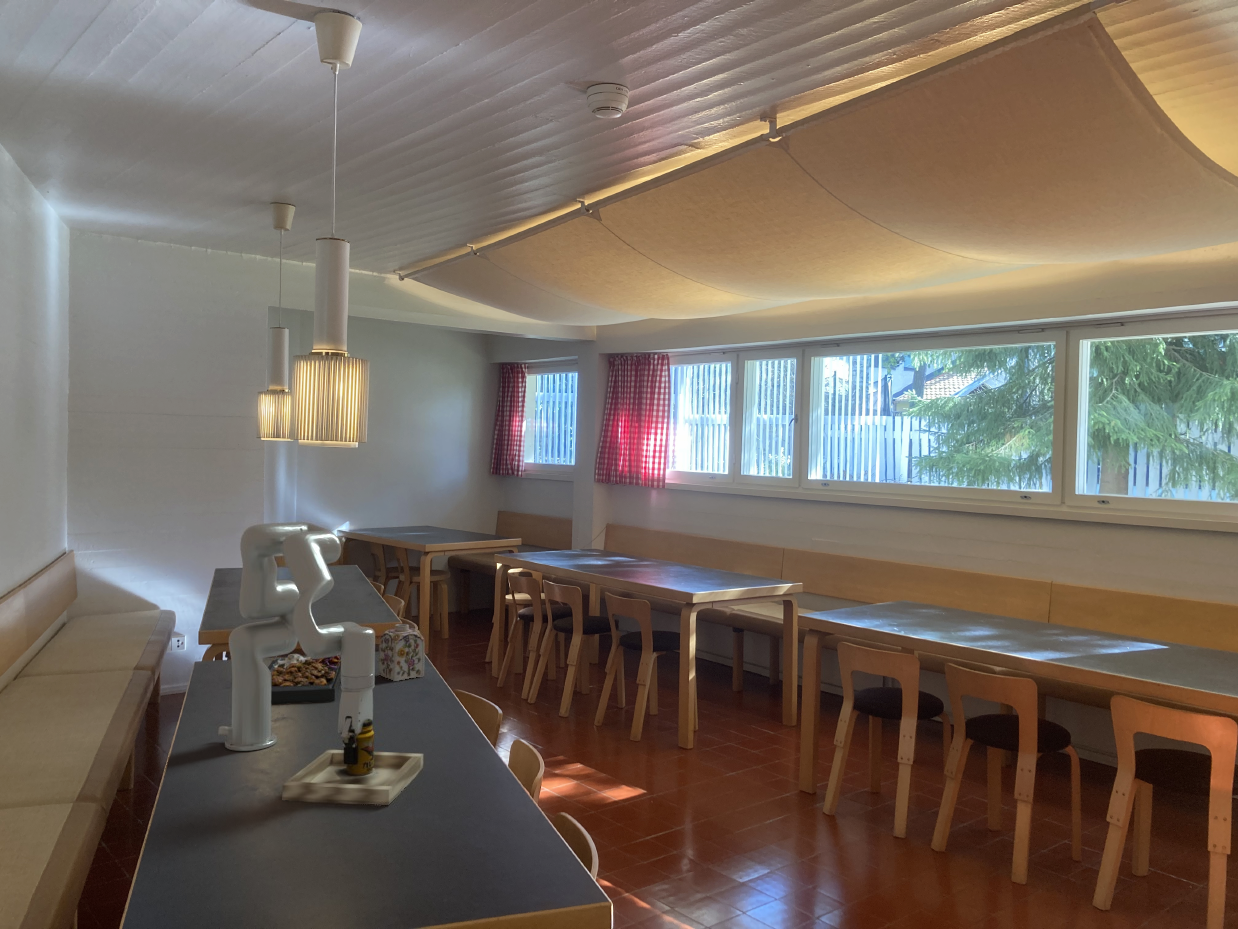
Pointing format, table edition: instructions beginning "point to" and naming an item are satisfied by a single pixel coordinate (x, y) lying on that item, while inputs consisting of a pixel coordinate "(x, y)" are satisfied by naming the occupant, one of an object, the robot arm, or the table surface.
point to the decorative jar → (401, 653)
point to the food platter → (304, 679)
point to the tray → (353, 779)
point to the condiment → (361, 755)
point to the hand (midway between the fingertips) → (356, 758)
